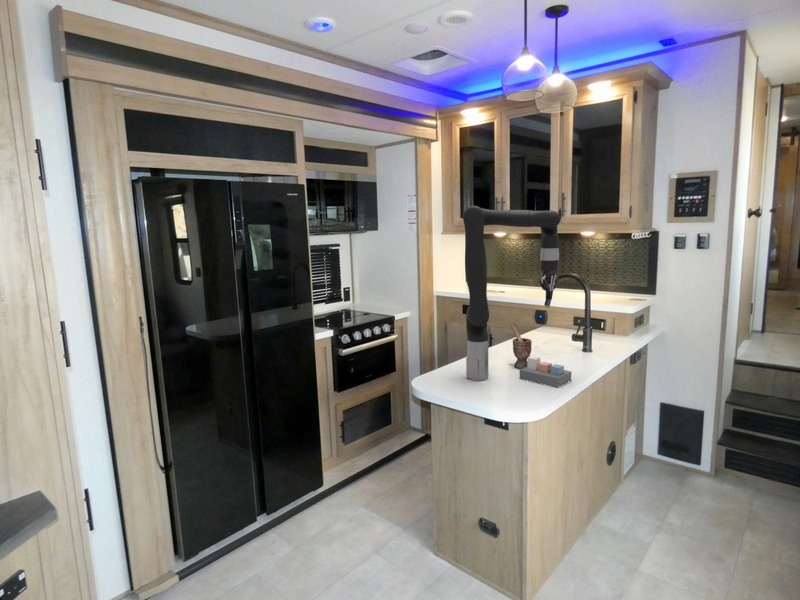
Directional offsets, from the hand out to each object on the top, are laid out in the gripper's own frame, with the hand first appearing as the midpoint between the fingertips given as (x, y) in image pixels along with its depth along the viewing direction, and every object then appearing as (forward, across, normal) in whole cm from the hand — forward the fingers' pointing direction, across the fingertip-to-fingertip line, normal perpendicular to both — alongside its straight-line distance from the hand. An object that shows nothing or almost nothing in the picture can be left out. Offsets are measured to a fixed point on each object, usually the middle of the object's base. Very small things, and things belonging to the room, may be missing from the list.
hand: (548, 299), depth 203 cm
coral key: (+33, -2, 0) cm, 33 cm away
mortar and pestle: (+35, +8, +19) cm, 41 cm away
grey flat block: (+35, -2, 0) cm, 35 cm away
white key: (+31, -2, +6) cm, 32 cm away
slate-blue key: (+33, -2, -6) cm, 33 cm away
